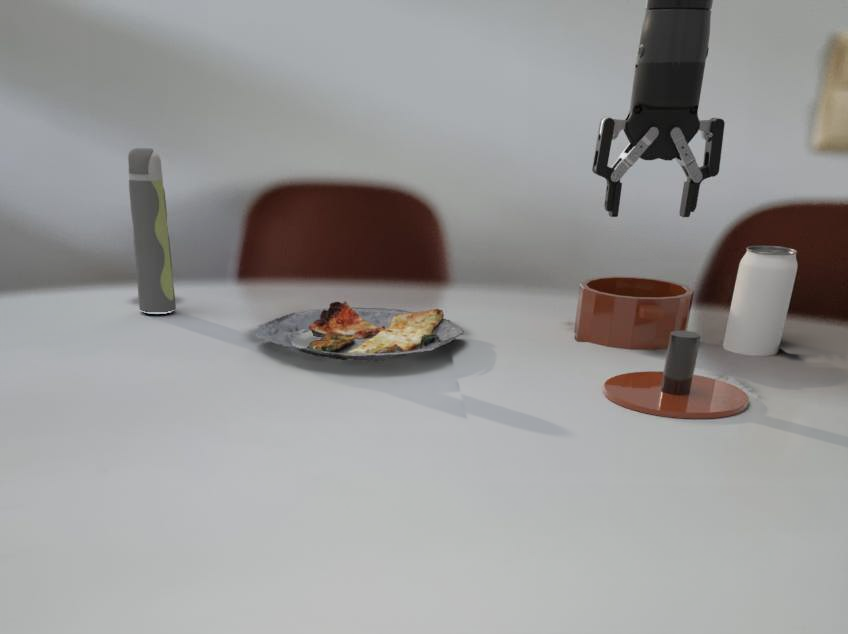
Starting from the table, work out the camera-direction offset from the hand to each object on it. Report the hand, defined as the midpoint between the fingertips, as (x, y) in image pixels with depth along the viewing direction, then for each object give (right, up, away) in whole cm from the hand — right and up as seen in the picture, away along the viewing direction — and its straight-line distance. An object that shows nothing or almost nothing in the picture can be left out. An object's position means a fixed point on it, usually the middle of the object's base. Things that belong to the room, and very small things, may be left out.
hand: (648, 216), depth 116 cm
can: (+13, -16, +3) cm, 21 cm away
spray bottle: (-62, -6, +16) cm, 65 cm away
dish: (0, -12, +8) cm, 15 cm away
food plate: (-34, -15, +3) cm, 38 cm away
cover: (-2, -25, -15) cm, 29 cm away
